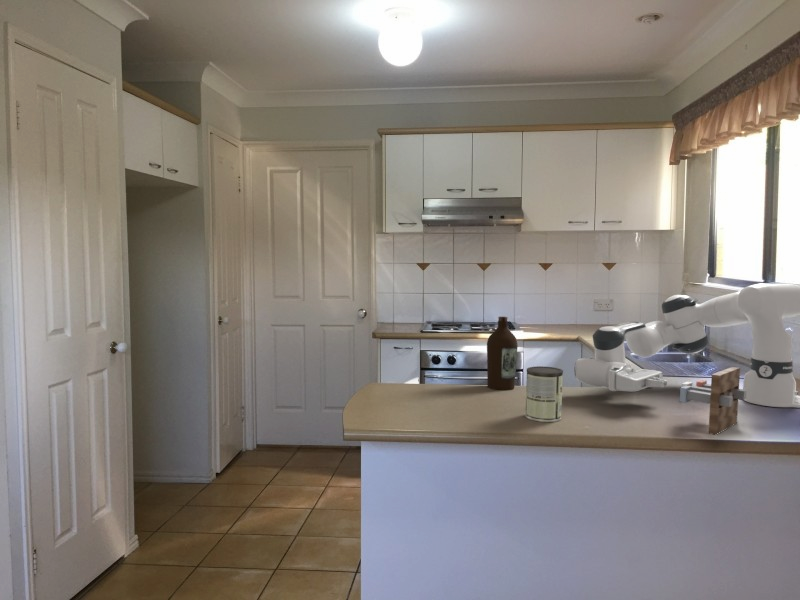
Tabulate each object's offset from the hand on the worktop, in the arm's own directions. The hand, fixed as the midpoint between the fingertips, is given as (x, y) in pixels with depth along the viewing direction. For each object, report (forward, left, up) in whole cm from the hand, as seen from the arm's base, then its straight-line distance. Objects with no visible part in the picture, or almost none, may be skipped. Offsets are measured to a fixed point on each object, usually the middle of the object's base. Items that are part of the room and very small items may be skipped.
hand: (665, 383), depth 192 cm
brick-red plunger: (0, +16, -2) cm, 16 cm away
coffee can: (+34, -21, -9) cm, 41 cm away
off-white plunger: (+6, +14, -2) cm, 15 cm away
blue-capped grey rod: (+12, +16, -1) cm, 20 cm away
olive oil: (+10, -53, -9) cm, 55 cm away
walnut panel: (+6, +19, -8) cm, 21 cm away
